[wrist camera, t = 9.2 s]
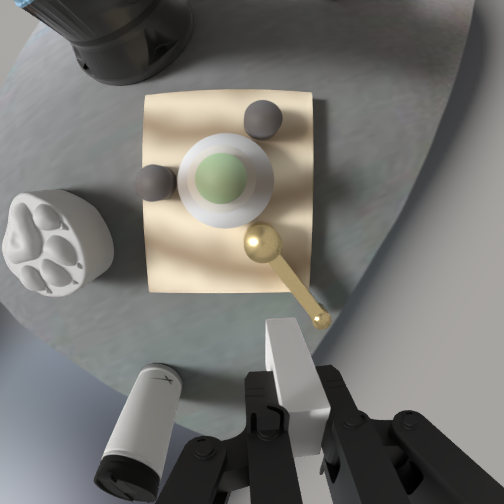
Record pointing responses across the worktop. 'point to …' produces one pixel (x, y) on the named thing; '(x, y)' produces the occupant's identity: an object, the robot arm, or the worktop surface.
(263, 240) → the brass ball lever
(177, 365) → the worktop surface
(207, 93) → the base
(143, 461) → the travel mug
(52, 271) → the paw-shaped mold
